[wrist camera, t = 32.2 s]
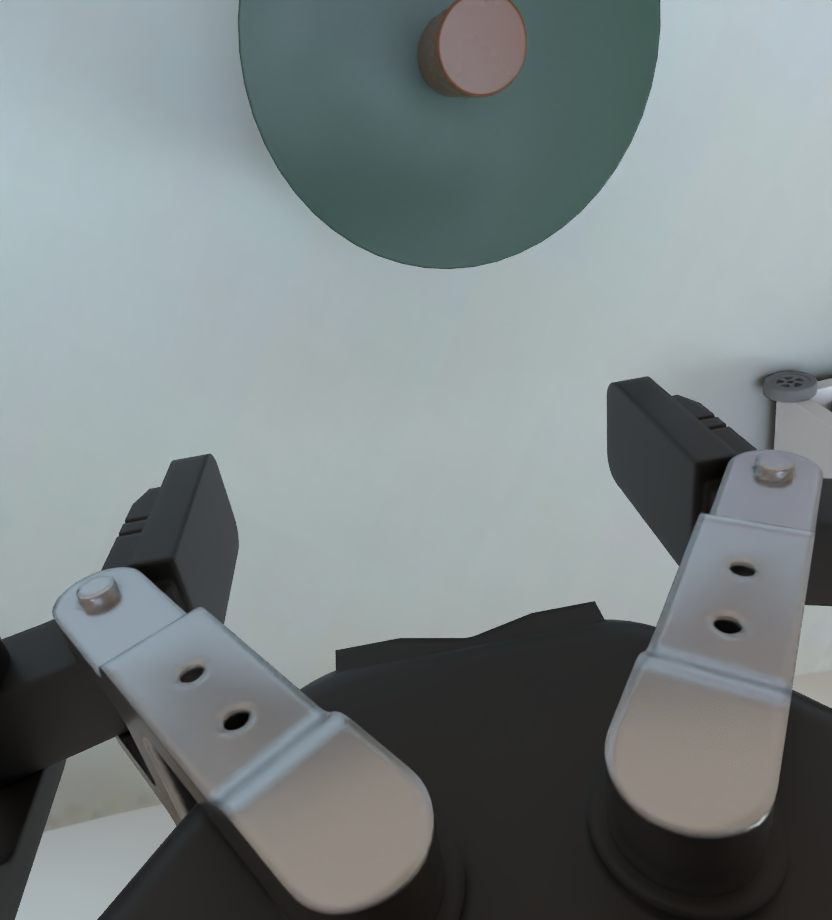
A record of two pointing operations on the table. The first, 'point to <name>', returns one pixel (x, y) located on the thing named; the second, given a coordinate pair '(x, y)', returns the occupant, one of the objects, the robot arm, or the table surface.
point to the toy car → (802, 416)
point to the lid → (447, 114)
